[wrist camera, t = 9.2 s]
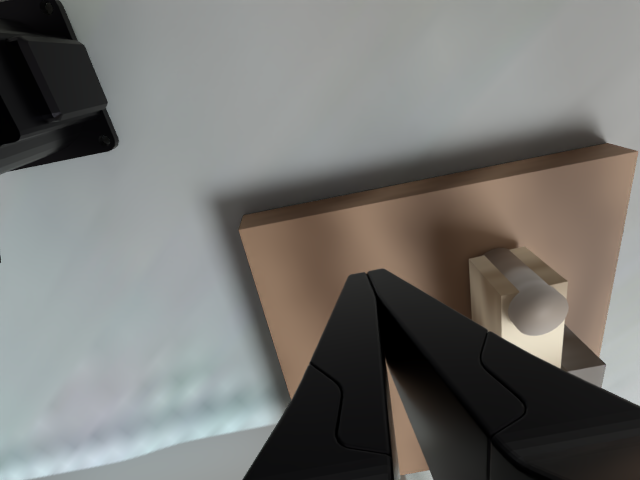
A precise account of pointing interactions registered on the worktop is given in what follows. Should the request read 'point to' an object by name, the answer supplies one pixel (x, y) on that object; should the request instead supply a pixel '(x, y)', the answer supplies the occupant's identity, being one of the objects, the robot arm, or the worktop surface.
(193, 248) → the worktop surface
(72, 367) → the worktop surface
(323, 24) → the worktop surface
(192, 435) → the worktop surface
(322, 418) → the robot arm
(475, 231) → the seat board
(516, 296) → the leg
